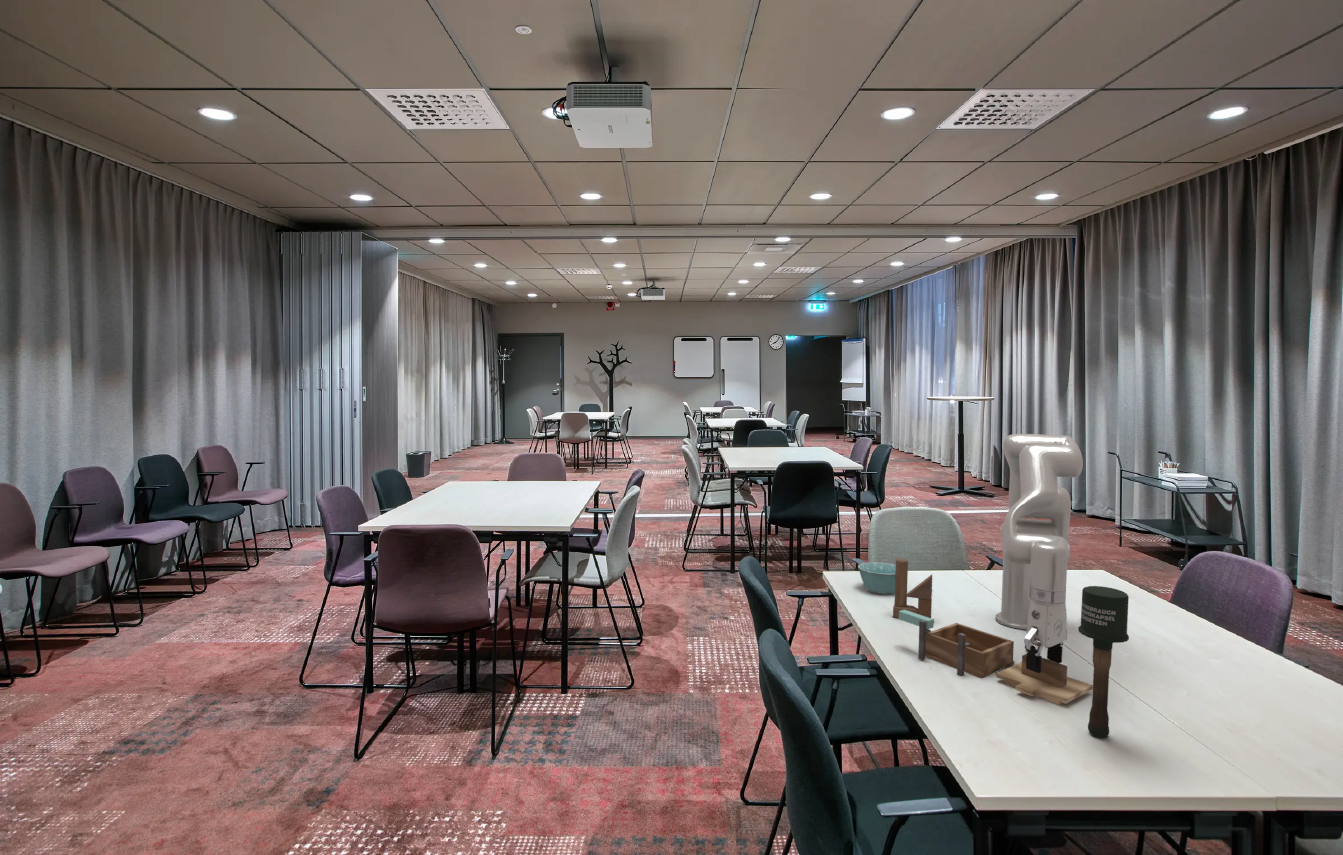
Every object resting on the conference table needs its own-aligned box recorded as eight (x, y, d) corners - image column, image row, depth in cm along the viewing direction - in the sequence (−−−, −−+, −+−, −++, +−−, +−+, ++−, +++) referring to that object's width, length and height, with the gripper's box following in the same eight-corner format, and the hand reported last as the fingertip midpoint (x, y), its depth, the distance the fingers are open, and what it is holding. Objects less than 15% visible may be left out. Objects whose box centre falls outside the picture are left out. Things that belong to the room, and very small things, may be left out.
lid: (1023, 670, 167) (1024, 643, 167) (1092, 695, 154) (1093, 666, 154) (989, 685, 159) (990, 657, 158) (1059, 713, 145) (1061, 682, 145)
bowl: (854, 583, 239) (855, 560, 238) (899, 585, 237) (900, 562, 236) (861, 596, 224) (861, 572, 223) (909, 599, 221) (910, 574, 221)
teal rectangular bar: (904, 617, 182) (904, 609, 181) (933, 627, 174) (933, 619, 174) (898, 619, 180) (898, 611, 180) (927, 629, 173) (928, 621, 173)
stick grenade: (1064, 725, 140) (1070, 585, 138) (1102, 723, 140) (1109, 584, 138) (1093, 746, 131) (1100, 598, 129) (1134, 745, 132) (1141, 597, 130)
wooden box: (956, 643, 183) (957, 607, 183) (1014, 663, 170) (1015, 625, 170) (916, 658, 173) (918, 620, 173) (974, 681, 160) (976, 640, 159)
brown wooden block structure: (930, 623, 199) (931, 564, 197) (892, 618, 203) (894, 560, 202) (931, 619, 202) (933, 561, 201) (894, 614, 207) (895, 557, 205)
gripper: (1044, 606, 147) (1041, 680, 149) (1081, 592, 157) (1078, 662, 158) (1011, 597, 154) (1008, 668, 155) (1049, 584, 163) (1046, 652, 165)
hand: (1044, 665), depth 157 cm, fingers open, 9 cm apart
